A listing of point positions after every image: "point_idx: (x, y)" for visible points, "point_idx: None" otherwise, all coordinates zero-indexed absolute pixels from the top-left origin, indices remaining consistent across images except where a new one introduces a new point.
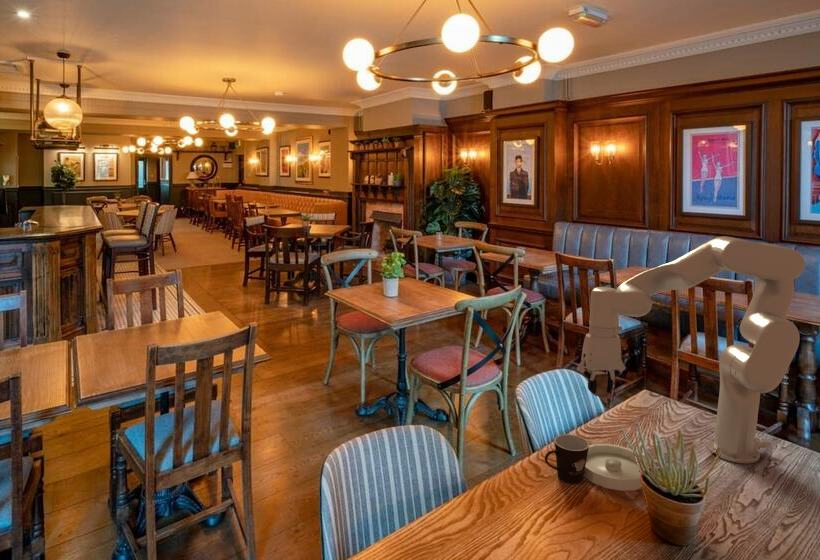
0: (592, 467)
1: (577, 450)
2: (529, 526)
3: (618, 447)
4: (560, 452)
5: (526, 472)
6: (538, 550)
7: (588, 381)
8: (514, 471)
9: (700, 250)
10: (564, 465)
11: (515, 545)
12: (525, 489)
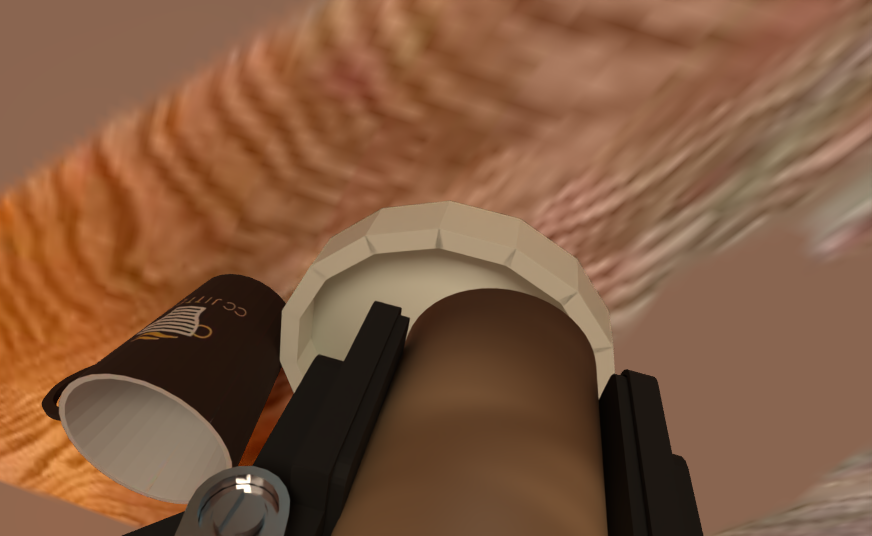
0: (357, 320)
1: (152, 497)
2: (60, 443)
3: (558, 300)
4: (103, 425)
5: (74, 232)
6: (73, 499)
7: (267, 450)
8: (24, 209)
9: None
10: (160, 394)
11: (22, 472)
12: (61, 320)
